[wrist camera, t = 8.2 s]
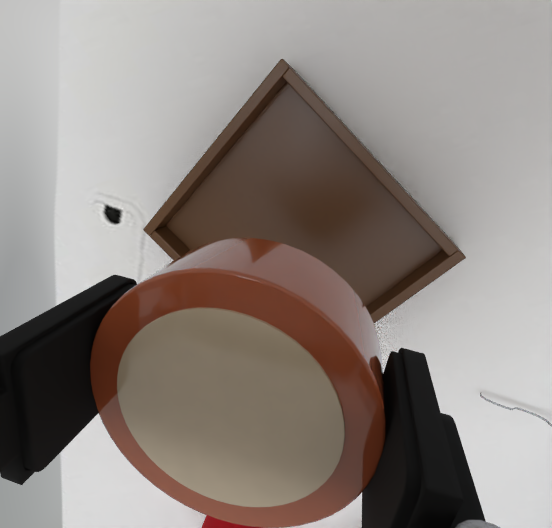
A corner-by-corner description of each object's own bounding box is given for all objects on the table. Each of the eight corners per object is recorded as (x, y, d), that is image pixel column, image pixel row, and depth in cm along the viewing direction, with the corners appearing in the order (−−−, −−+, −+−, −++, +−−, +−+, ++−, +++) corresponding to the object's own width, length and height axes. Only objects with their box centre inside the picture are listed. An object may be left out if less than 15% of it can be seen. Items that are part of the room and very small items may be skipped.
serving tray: (158, 223, 25) (142, 229, 23) (289, 64, 20) (281, 57, 18) (299, 363, 26) (294, 380, 25) (457, 247, 21) (466, 257, 19)
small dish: (105, 336, 11) (40, 387, 9) (248, 179, 9) (205, 194, 6) (260, 482, 12) (235, 566, 9) (439, 376, 9) (464, 456, 7)
